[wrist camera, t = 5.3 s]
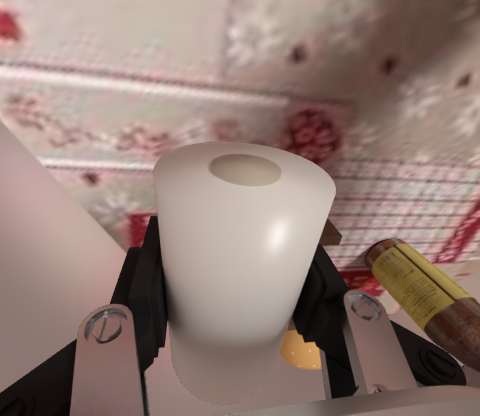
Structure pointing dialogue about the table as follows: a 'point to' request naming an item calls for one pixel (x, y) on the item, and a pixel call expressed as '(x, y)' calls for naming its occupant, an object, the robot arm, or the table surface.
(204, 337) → the roll
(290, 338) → the hamburger
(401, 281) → the sauce bottle
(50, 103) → the table surface
